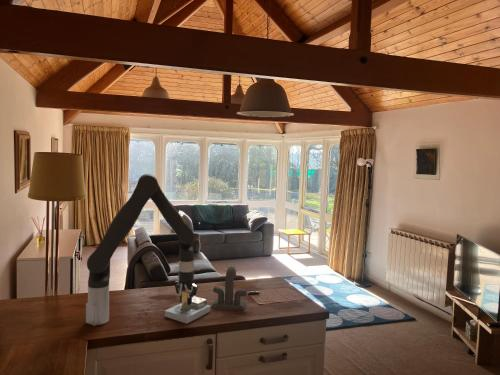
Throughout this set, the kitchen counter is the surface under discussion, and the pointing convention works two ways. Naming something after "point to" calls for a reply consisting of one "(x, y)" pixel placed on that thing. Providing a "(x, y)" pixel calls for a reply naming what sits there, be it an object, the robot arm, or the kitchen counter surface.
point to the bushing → (184, 299)
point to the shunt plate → (198, 302)
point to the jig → (186, 313)
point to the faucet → (229, 293)
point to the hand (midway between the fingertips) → (185, 303)
